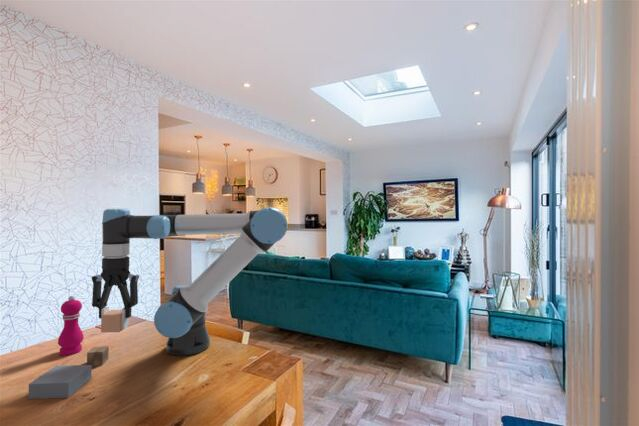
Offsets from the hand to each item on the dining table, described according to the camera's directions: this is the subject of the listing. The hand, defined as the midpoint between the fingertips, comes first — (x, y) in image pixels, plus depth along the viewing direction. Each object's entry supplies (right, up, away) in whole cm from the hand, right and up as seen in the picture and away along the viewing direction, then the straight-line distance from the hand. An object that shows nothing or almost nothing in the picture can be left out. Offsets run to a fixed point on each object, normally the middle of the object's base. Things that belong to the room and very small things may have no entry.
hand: (115, 327), depth 103 cm
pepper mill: (-22, -12, +10) cm, 27 cm away
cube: (0, 0, 0) cm, 0 cm away
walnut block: (-10, -10, +2) cm, 14 cm away
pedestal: (-7, -13, -13) cm, 19 cm away
